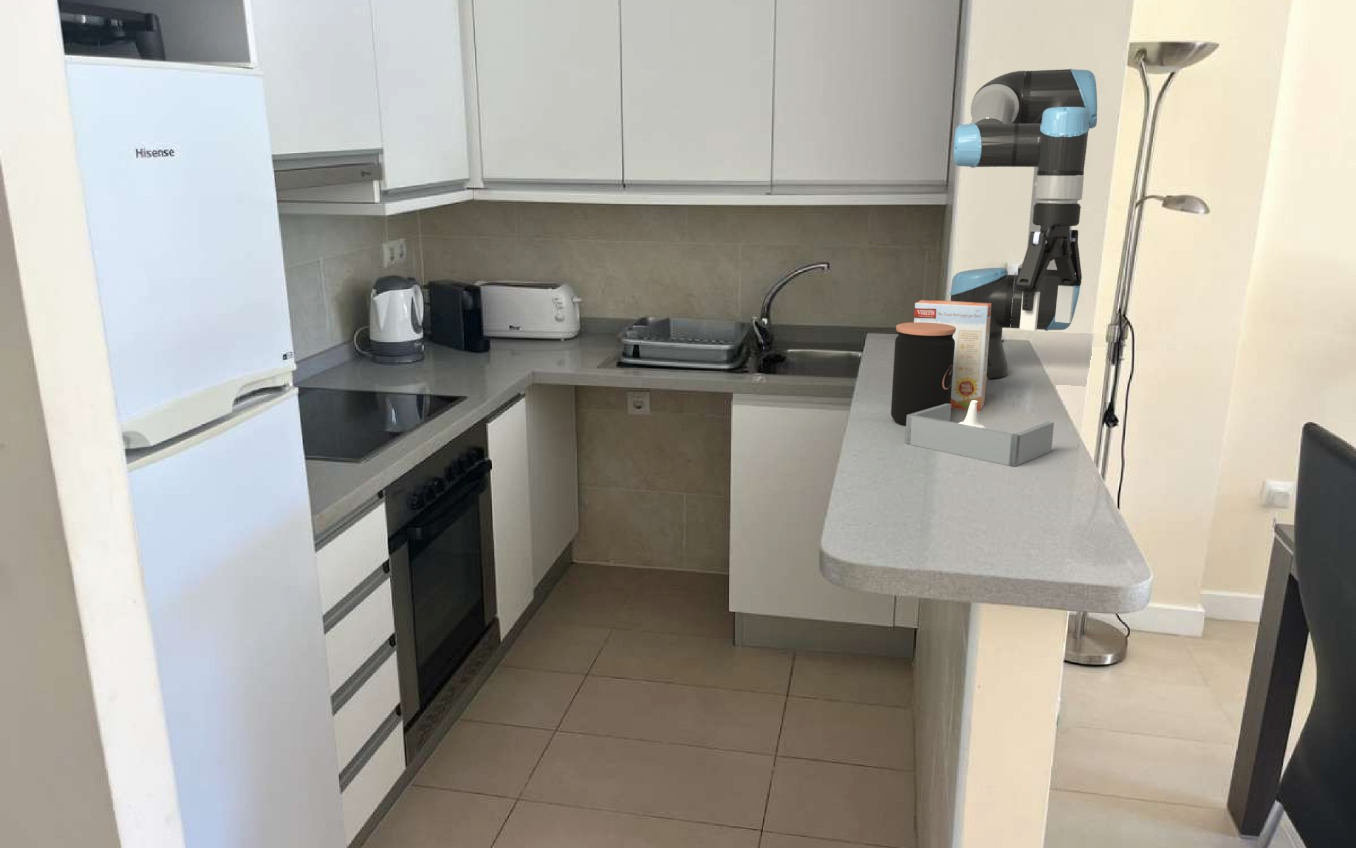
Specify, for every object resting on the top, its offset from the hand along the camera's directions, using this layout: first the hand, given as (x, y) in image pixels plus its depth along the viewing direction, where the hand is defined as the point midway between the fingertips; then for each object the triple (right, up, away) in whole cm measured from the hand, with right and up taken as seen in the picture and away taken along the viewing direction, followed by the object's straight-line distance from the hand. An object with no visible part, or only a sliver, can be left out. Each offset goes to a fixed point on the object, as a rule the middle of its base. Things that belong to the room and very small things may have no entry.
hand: (1045, 326), depth 175 cm
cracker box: (-11, -14, +24) cm, 30 cm away
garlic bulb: (-15, -21, -6) cm, 26 cm away
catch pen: (-14, -21, -6) cm, 26 cm away
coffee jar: (-19, -17, +11) cm, 28 cm away
